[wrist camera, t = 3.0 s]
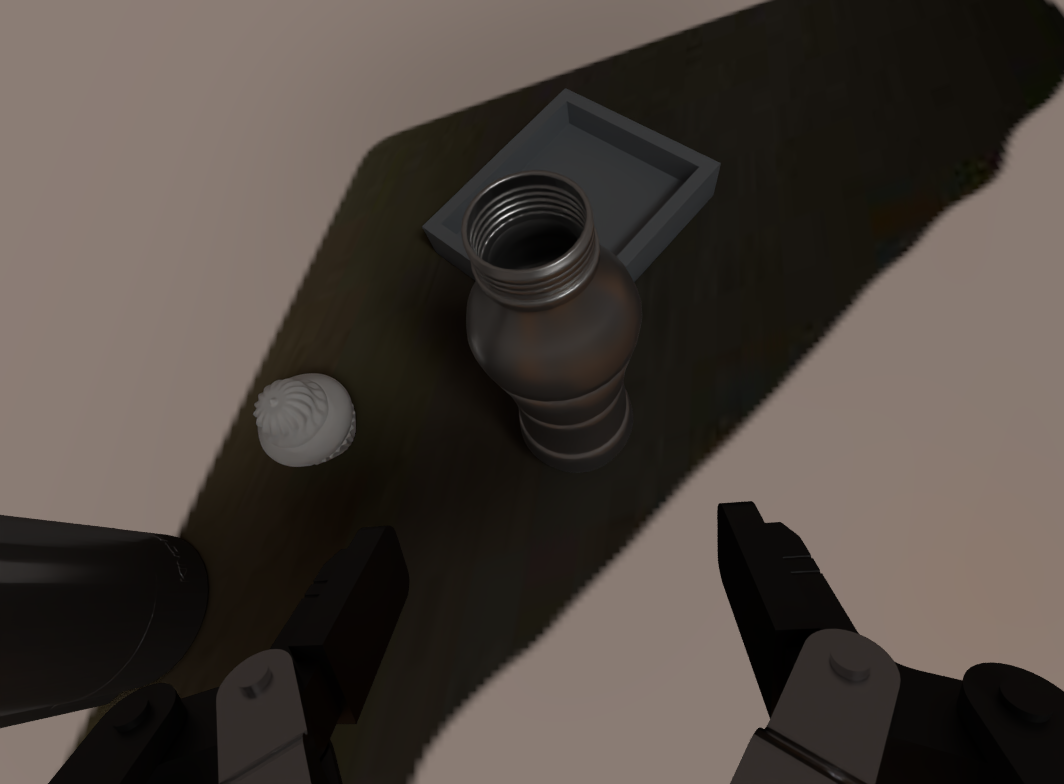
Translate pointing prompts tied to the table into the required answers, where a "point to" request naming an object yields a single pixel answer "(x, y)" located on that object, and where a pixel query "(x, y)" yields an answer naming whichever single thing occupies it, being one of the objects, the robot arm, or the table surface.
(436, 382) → the table surface
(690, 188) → the tray
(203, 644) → the table surface
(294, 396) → the muffin
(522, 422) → the plastic bottle
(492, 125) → the table surface
